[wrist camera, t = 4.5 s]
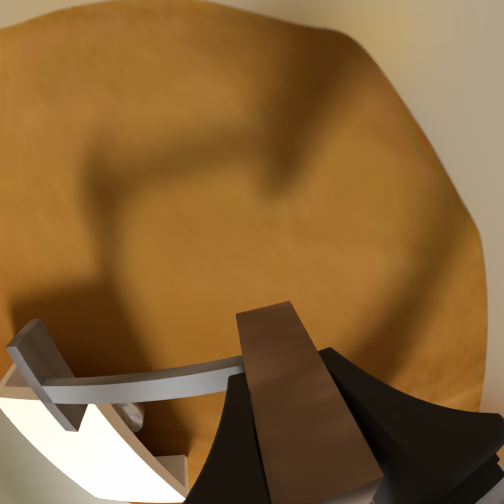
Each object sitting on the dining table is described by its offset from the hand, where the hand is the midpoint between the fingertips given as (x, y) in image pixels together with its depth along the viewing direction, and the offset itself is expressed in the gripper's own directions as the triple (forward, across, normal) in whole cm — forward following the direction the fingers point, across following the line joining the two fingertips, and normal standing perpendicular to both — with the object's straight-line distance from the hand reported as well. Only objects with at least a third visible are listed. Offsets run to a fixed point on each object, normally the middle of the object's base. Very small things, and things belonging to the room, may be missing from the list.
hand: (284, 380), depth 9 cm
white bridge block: (+10, +18, +12) cm, 24 cm away
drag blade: (+4, +6, 0) cm, 7 cm away
